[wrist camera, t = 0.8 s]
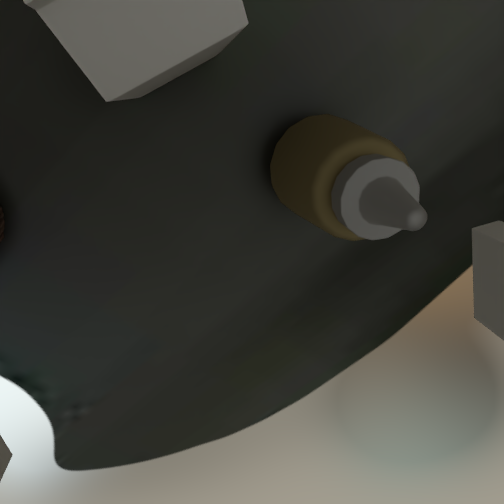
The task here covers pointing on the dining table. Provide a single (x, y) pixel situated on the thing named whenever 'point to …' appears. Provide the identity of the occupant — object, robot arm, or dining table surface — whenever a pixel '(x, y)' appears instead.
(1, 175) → the dining table surface
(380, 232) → the squeeze bottle
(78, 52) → the milk carton
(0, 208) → the cupcake
